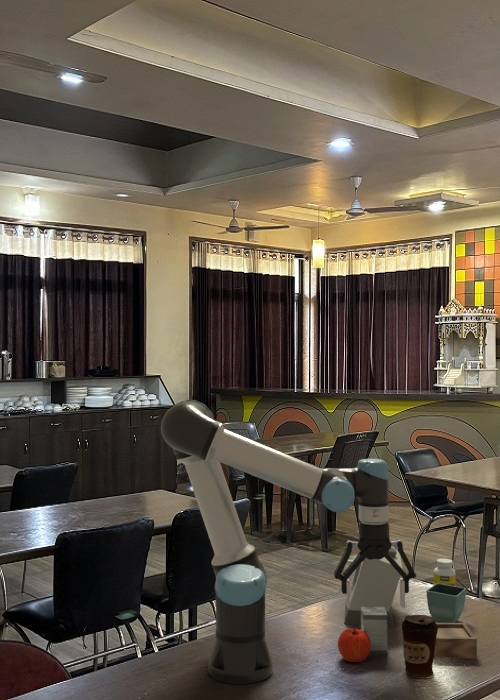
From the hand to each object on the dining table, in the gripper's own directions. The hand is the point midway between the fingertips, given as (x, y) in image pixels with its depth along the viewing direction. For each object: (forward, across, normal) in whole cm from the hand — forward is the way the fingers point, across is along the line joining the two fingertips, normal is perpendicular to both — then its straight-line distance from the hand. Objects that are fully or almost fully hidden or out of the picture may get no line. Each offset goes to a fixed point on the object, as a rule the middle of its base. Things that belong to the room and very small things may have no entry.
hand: (375, 606), depth 197 cm
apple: (+11, -6, -6) cm, 14 cm away
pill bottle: (+12, +26, +41) cm, 50 cm away
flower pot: (+12, +22, +21) cm, 33 cm away
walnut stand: (+11, +18, +1) cm, 22 cm away
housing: (+11, 0, 0) cm, 11 cm away
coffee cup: (+12, +8, -14) cm, 20 cm away
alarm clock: (+12, +3, +28) cm, 31 cm away
